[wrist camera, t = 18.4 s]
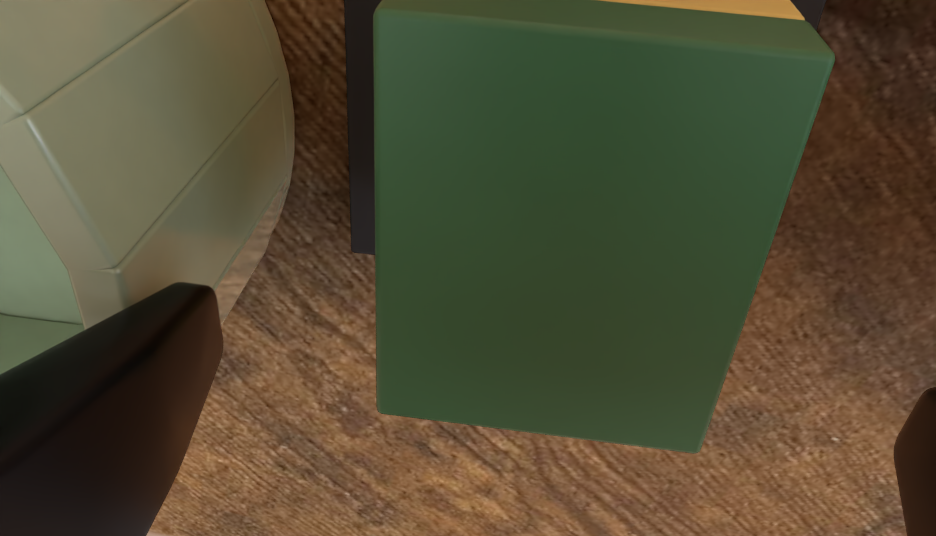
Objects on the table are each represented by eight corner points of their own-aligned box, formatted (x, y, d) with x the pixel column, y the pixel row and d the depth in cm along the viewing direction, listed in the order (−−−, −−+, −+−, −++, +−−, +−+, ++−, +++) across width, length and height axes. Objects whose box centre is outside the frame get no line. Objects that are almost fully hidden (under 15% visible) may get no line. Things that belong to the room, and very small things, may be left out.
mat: (726, 284, 14) (730, 297, 14) (355, 241, 15) (350, 252, 14) (860, -137, 10) (870, -134, 10) (345, -182, 11) (338, -179, 10)
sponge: (662, 236, 13) (700, 457, 9) (434, 211, 14) (375, 415, 10) (737, -70, 11) (839, 53, 6) (447, -96, 11) (371, 9, 7)
